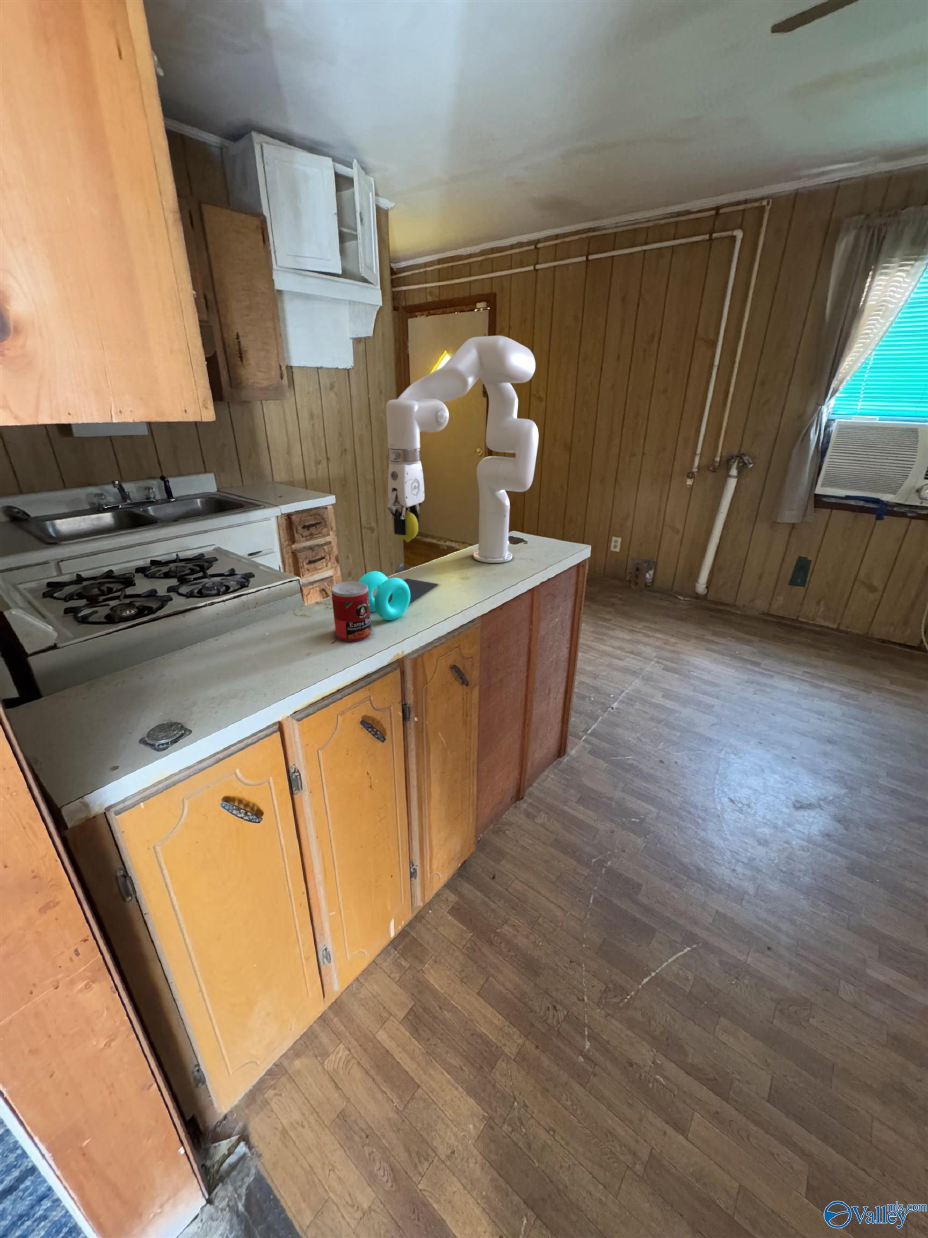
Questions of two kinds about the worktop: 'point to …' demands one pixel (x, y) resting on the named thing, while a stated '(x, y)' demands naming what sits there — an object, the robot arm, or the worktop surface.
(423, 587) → the mat
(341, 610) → the canned food
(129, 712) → the worktop surface
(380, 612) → the donuts
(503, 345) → the robot arm
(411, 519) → the lemon
